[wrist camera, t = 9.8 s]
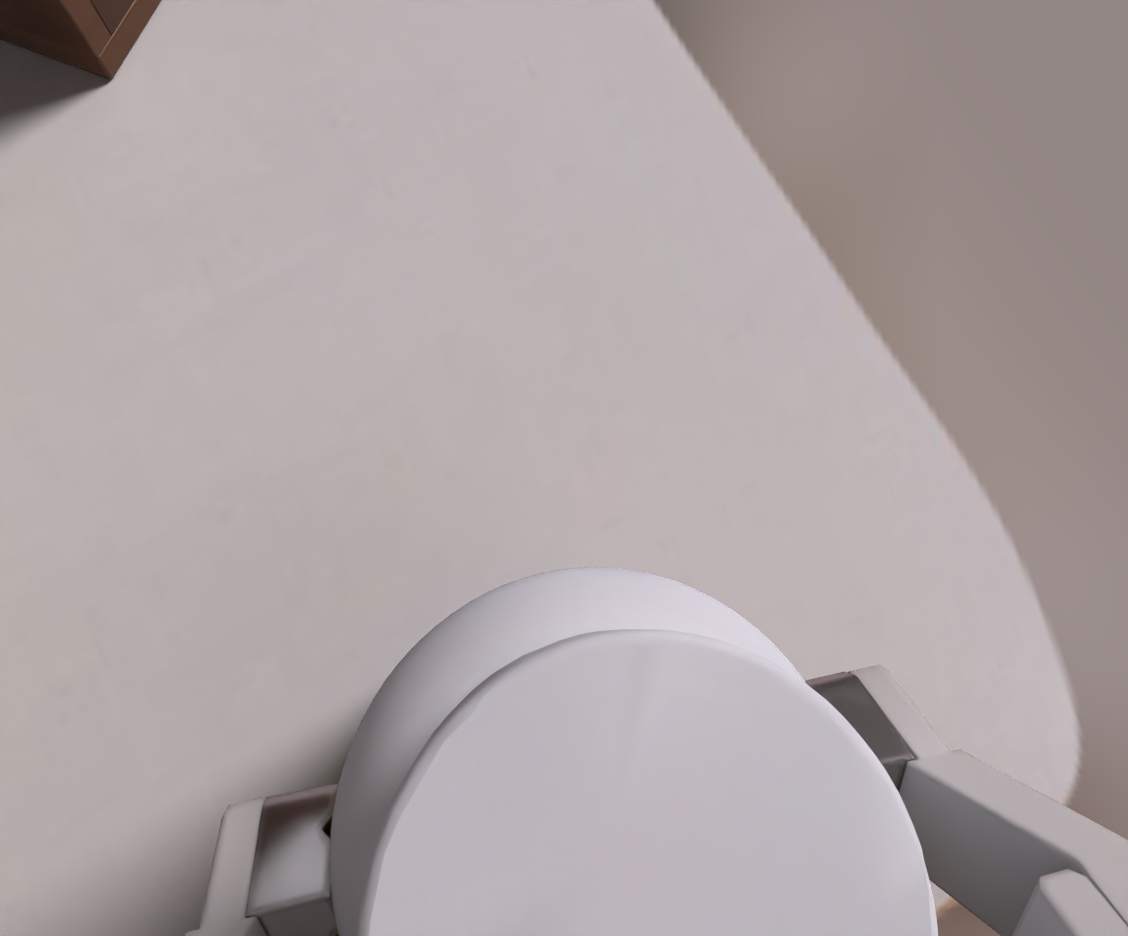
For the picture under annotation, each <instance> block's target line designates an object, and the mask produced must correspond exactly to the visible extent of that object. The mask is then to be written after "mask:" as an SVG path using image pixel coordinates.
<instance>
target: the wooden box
mask: <svg viewBox="0 0 1128 936" xmlns="http://www.w3.org/2000/svg"><path fill="white" fill-rule="evenodd" d="M160 1H161V0H0V39H2V40H5V41H8V42H11V43H13V44H16V45H19V46H22V47H24V48H27V49H30V50H33V51H35V52H38V53H41V54H44V55H46V56H49V57H52V58H55V59H57V60H60V61H63V62H65V63H68V64H71V65H74V66H76V67H79V68H82V69H85V70H87V71H90V72H93V73H96V74H98V75H101V76H104V77H107V78H109V79H111V78H113V77H114V75H115V73H116V72H117V70H118V69H119V67H120V65H121V64H122V62H123V61H124V59H125V57H126V56H127V54H128V53H129V51H130V49H131V48H132V46H133V45H134V43H135V41H136V40H137V38H138V37H139V35H140V33H141V32H142V30H143V29H144V27H145V25H146V24H147V22H148V21H149V19H150V17H151V16H152V14H153V13H154V11H155V9H156V8H157V6H158V5H159V3H160Z"/></svg>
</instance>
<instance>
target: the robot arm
mask: <svg viewBox="0 0 1128 936" xmlns="http://www.w3.org/2000/svg"><path fill="white" fill-rule="evenodd" d="M805 683H806V684H807V685H808V686H810V687H811V688H812V689H813V690H815V691H816V692H817V693H818V694H820V695H821V696H822V697H823V698H825V699H826V700H827V701H828V702H829V703H830V704H831V705H832V706H833V707H834V708H835V709H836V710H837V711H838V712H839V713H840V714H841V715H842V716H843V717H844V718H845V719H846V720H847V721H848V722H849V723H850V724H851V726H852V727H853V728H854V729H855V730H856V731H857V733H858V734H859V735H860V736H861V737H862V739H863V740H864V741H865V742H866V744H867V745H868V746H869V748H870V749H871V750H872V751H873V753H874V754H875V755H876V757H877V758H878V760H879V761H880V763H881V764H882V765H883V767H884V768H885V770H886V772H887V773H888V775H889V777H890V778H891V780H892V782H893V783H894V785H895V787H896V789H897V790H898V792H899V794H900V796H901V799H902V801H903V803H904V805H905V807H906V809H907V812H908V814H909V816H910V819H911V821H912V823H913V826H914V828H915V831H916V834H917V837H918V839H919V842H920V845H921V847H922V852H923V858H924V862H925V865H926V869H927V873H928V876H929V880H931V881H932V882H933V883H935V884H936V885H937V886H938V887H940V888H941V889H942V890H943V891H945V892H946V893H947V894H949V895H950V896H951V897H952V898H954V899H955V900H956V901H957V902H959V903H960V904H961V905H963V906H964V907H965V908H967V909H968V910H969V911H970V912H972V913H973V914H974V915H975V916H977V917H978V918H979V919H981V920H982V921H983V922H984V923H986V924H987V925H988V926H989V927H991V928H992V929H993V930H995V931H996V932H997V933H998V934H1000V935H1001V936H1128V840H1126V839H1124V838H1123V837H1120V836H1119V835H1117V834H1115V833H1113V832H1112V831H1110V830H1108V829H1106V828H1104V827H1102V826H1101V825H1099V824H1097V823H1095V822H1093V821H1091V820H1089V819H1088V818H1086V817H1084V816H1082V815H1080V814H1078V813H1077V812H1075V811H1073V810H1071V809H1069V808H1067V807H1066V806H1064V805H1062V804H1060V803H1058V802H1056V801H1054V800H1053V799H1051V798H1049V797H1047V796H1045V795H1043V794H1042V793H1040V792H1038V791H1036V790H1034V789H1032V788H1031V787H1029V786H1027V785H1025V784H1023V783H1021V782H1019V781H1018V780H1016V779H1014V778H1012V777H1010V776H1008V775H1007V774H1005V773H1003V772H1001V771H999V770H997V769H996V768H994V767H992V766H990V765H988V764H986V763H984V762H983V761H981V760H979V759H977V758H975V757H973V756H972V755H970V754H968V753H966V752H964V751H962V750H961V749H960V750H955V751H950V749H949V748H948V747H947V745H946V744H945V743H944V742H943V740H942V739H941V738H940V736H939V735H938V734H937V733H936V731H935V730H934V729H933V727H932V726H931V725H930V724H929V722H928V721H927V720H926V719H925V717H924V716H923V715H922V713H921V712H920V711H919V710H918V708H917V707H916V706H915V704H914V703H913V702H912V701H911V699H910V698H909V697H908V695H907V694H906V693H905V692H904V690H903V689H902V688H901V687H900V685H899V684H898V683H897V681H896V680H895V679H894V678H893V676H892V675H891V674H890V672H889V671H888V670H887V669H886V668H884V667H882V666H881V665H876V666H871V667H867V668H862V669H858V670H854V671H849V672H840V673H836V674H832V675H828V676H823V677H819V678H815V679H810V680H806V681H805ZM338 784H339V783H338ZM338 784H333V785H327V786H322V787H317V788H312V789H306V790H301V791H296V792H291V793H286V794H280V795H275V796H270V797H264V798H260V799H255V800H250V801H245V802H240V803H236V804H231V805H228V807H227V809H226V811H225V813H224V815H223V817H222V819H221V824H220V829H219V834H218V838H217V843H216V848H215V853H214V858H213V863H212V867H211V872H210V877H209V882H208V887H207V891H206V896H205V901H204V906H203V911H202V916H201V920H200V925H199V929H197V930H193V931H190V932H187V933H186V934H185V935H184V936H339V934H338V930H337V925H336V920H335V914H334V909H333V903H332V893H331V881H330V840H331V825H332V816H333V809H334V804H335V799H336V794H337V788H338Z"/></svg>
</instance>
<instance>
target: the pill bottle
mask: <svg viewBox="0 0 1128 936" xmlns="http://www.w3.org/2000/svg"><path fill="white" fill-rule="evenodd" d="M330 881H331V893H332V903H333V909H334V914H335V920H336V925H337V930H338V934H339V936H938V930H937V919H936V912H935V905H934V898H933V893H932V889H931V884H930V880H929V876H928V873H927V869H926V865H925V862H924V858H923V852H922V847H921V845H920V842H919V839H918V837H917V834H916V831H915V828H914V826H913V823H912V821H911V819H910V816H909V814H908V812H907V809H906V807H905V805H904V803H903V801H902V799H901V796H900V794H899V792H898V790H897V789H896V787H895V785H894V783H893V782H892V780H891V778H890V777H889V775H888V773H887V772H886V770H885V768H884V767H883V765H882V764H881V763H880V761H879V760H878V758H877V757H876V755H875V754H874V753H873V751H872V750H871V749H870V748H869V746H868V745H867V744H866V742H865V741H864V740H863V739H862V737H861V736H860V735H859V734H858V733H857V731H856V730H855V729H854V728H853V727H852V726H851V724H850V723H849V722H848V721H847V720H846V719H845V718H844V717H843V716H842V715H841V714H840V713H839V712H838V711H837V710H836V709H835V708H834V707H833V706H832V705H831V704H830V703H829V702H828V701H827V700H826V699H825V698H823V697H822V696H821V695H820V694H818V693H817V692H816V691H815V690H813V689H812V688H811V687H810V686H808V685H807V684H806V683H805V681H804V679H803V678H802V677H801V675H800V674H799V673H798V672H797V670H796V669H795V668H794V666H793V665H792V664H791V662H790V661H789V660H788V659H787V658H786V657H785V656H784V655H783V654H782V653H781V651H780V650H779V649H778V648H777V647H776V646H775V645H774V644H773V643H772V642H771V641H770V640H769V639H768V638H767V637H766V636H765V635H764V634H763V633H762V632H760V631H759V630H758V629H757V628H756V627H754V626H753V625H752V624H751V623H750V622H748V621H747V620H746V619H744V618H743V617H741V616H740V615H739V614H737V613H736V612H734V611H733V610H731V609H730V608H728V607H727V606H726V605H724V604H722V603H720V602H719V601H717V600H715V599H713V598H712V597H710V596H708V595H706V594H704V593H702V592H700V591H698V590H696V589H694V588H691V587H689V586H686V585H684V584H682V583H679V582H677V581H674V580H672V579H668V578H664V577H661V576H657V575H653V574H650V573H646V572H640V571H634V570H628V569H618V568H601V567H588V568H572V569H564V570H556V571H551V572H546V573H541V574H537V575H533V576H530V577H526V578H523V579H520V580H517V581H514V582H511V583H508V584H505V585H503V586H501V587H498V588H496V589H494V590H492V591H490V592H487V593H486V594H484V595H482V596H480V597H478V598H476V599H474V600H472V601H471V602H469V603H468V604H466V605H465V606H463V607H462V608H460V609H459V610H457V611H455V612H454V613H452V614H451V615H450V616H448V617H447V618H446V619H444V620H443V621H442V622H441V623H439V624H438V625H437V626H435V627H434V628H433V629H432V630H431V631H430V632H429V633H428V634H427V635H425V636H424V637H423V638H422V639H421V640H420V641H419V642H418V643H417V644H416V645H415V646H414V647H413V648H412V649H411V650H410V651H409V652H408V653H407V655H406V656H405V657H404V658H403V659H402V660H401V661H400V663H399V664H398V665H397V666H396V667H395V669H394V670H393V671H392V673H391V674H390V675H389V677H388V678H387V679H386V680H385V682H384V683H383V685H382V686H381V688H380V690H379V691H378V693H377V694H376V696H375V697H374V699H373V701H372V703H371V704H370V706H369V708H368V710H367V712H366V713H365V715H364V717H363V719H362V721H361V723H360V726H359V728H358V730H357V732H356V734H355V737H354V739H353V741H352V743H351V745H350V748H349V751H348V754H347V758H346V761H345V764H344V767H343V770H342V773H341V777H340V780H339V784H338V788H337V794H336V799H335V804H334V809H333V816H332V825H331V840H330Z"/></svg>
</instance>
